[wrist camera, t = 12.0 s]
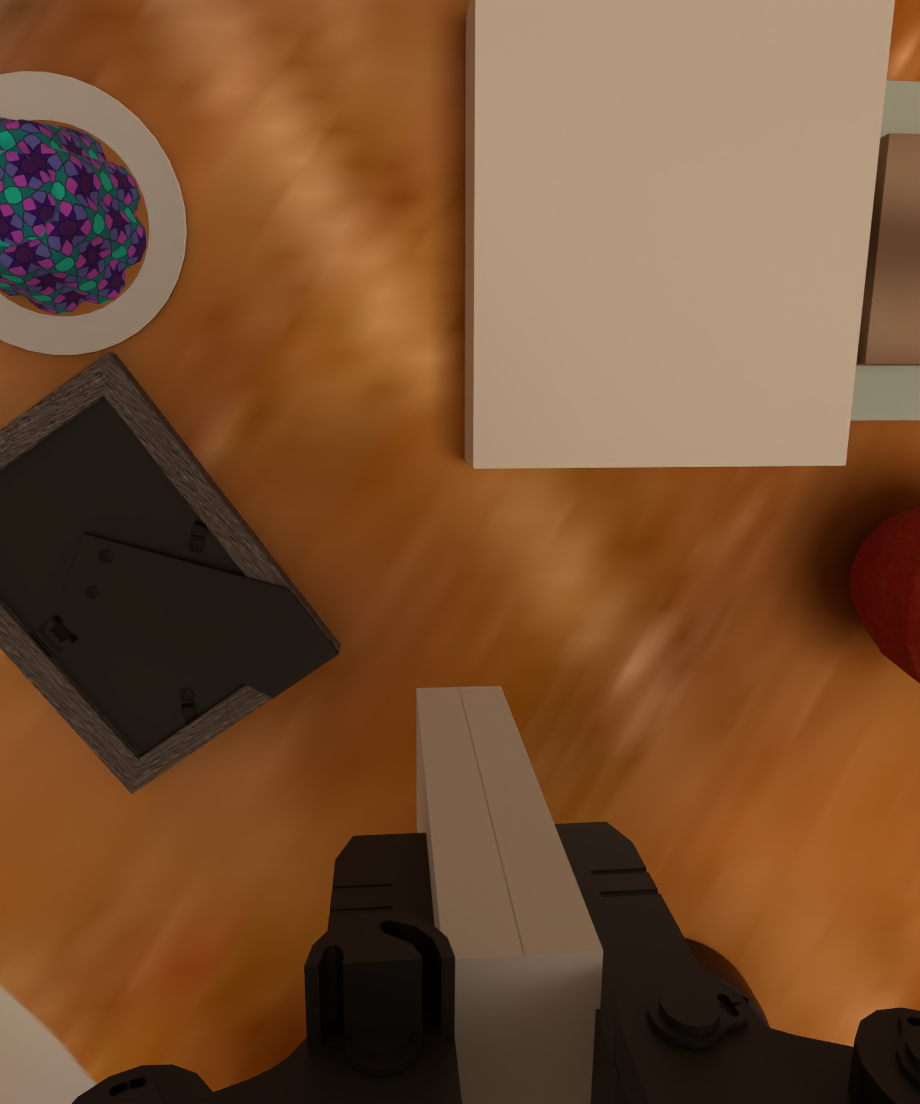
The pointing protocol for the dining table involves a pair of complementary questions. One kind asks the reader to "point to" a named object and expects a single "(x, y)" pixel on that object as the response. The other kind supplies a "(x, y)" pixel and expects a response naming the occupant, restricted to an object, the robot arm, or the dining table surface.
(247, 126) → the dining table surface
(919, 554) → the dark red rounded piece
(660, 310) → the cream flat block
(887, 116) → the mat
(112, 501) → the picture frame
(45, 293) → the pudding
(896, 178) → the walnut block
